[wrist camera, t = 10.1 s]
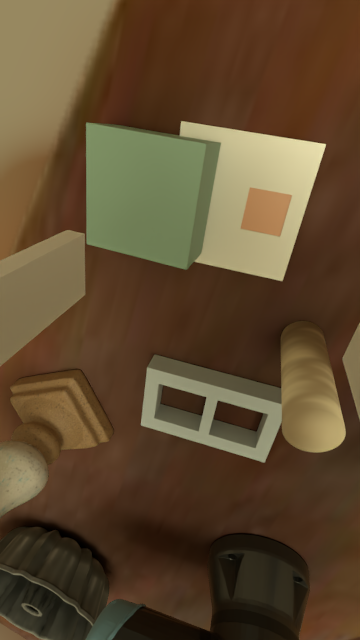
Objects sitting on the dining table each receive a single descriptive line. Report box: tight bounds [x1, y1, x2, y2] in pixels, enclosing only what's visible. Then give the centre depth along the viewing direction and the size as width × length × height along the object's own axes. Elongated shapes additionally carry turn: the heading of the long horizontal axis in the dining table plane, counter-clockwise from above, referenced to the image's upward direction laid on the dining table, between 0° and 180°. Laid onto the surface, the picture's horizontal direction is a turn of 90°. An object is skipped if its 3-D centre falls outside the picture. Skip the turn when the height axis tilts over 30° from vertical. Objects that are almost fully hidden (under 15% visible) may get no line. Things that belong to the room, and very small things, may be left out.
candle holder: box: [0, 369, 114, 518], centre depth 36 cm, size 11×11×24 cm
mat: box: [180, 121, 326, 281], centre depth 28 cm, size 11×11×1 cm
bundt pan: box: [0, 526, 109, 640], centre depth 65 cm, size 26×26×10 cm
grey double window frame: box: [141, 354, 282, 463], centre depth 38 cm, size 15×9×2 cm, turn 82°
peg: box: [281, 321, 346, 452], centre depth 28 cm, size 4×4×12 cm
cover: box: [86, 123, 221, 270], centre depth 27 cm, size 9×9×4 cm
